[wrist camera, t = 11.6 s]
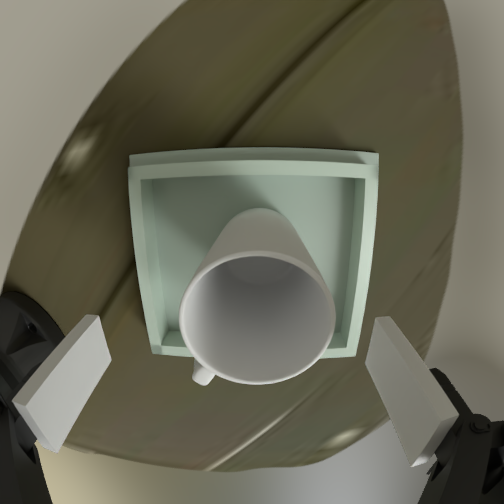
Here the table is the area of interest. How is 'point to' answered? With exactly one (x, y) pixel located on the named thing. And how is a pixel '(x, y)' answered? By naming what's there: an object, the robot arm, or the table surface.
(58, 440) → the robot arm
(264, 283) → the mug
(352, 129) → the table surface
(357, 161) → the tray
